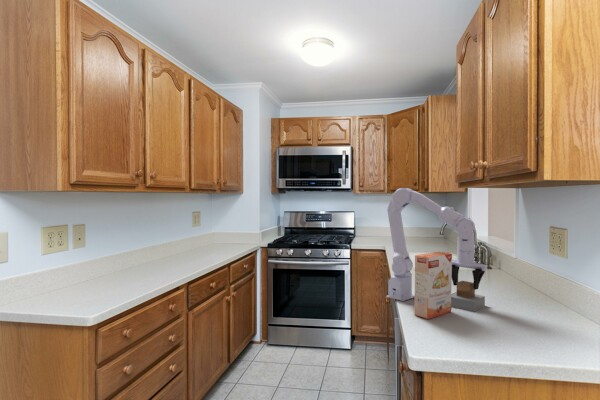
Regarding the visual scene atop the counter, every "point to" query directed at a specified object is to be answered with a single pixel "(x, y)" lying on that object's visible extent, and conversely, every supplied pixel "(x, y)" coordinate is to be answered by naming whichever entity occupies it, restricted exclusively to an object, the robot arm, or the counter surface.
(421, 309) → the cracker box
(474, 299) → the slate block
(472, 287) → the walnut block
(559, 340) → the counter surface
